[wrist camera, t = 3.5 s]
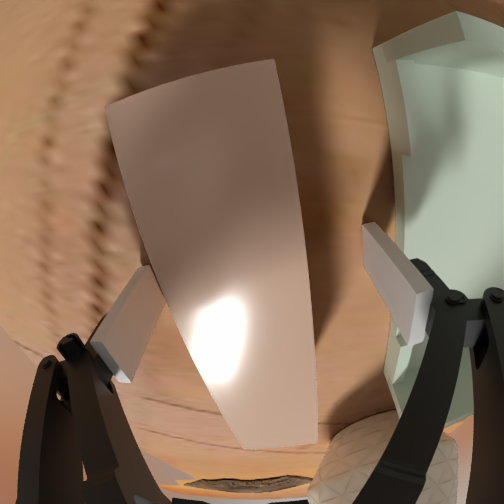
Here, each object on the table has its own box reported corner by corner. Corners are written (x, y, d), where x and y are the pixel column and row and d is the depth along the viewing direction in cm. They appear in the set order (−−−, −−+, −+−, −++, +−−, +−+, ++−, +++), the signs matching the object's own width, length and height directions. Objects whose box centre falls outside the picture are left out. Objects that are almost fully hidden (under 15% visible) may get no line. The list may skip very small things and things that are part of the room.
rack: (372, 48, 10) (456, 10, 4) (509, 69, 9) (586, 76, 2) (383, 371, 20) (406, 442, 14) (484, 334, 19) (518, 387, 12)
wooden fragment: (311, 470, 33) (312, 476, 32) (318, 483, 37) (318, 488, 37) (167, 473, 37) (166, 478, 36) (193, 488, 42) (193, 492, 41)
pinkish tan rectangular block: (176, 108, 12) (104, 106, 6) (267, 88, 12) (274, 58, 5) (247, 367, 20) (243, 449, 14) (307, 360, 20) (318, 442, 13)
